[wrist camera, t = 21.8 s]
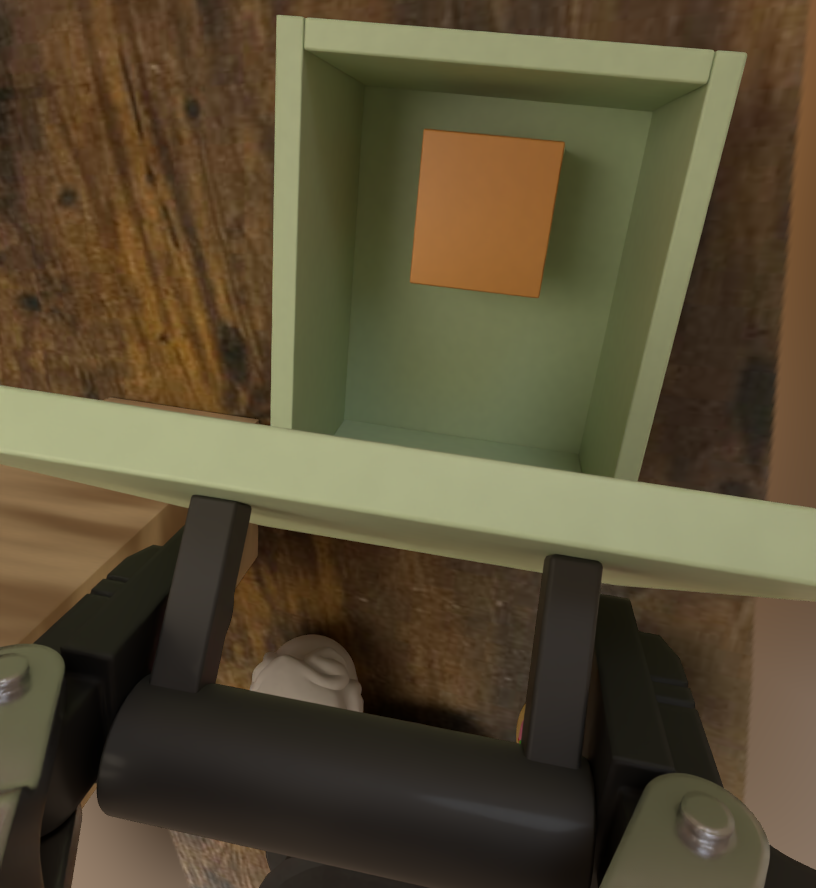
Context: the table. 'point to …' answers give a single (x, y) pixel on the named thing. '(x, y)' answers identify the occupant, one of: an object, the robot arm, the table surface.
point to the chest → (472, 312)
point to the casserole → (321, 875)
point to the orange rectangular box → (484, 211)
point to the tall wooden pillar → (76, 541)
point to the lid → (365, 735)
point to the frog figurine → (310, 673)
